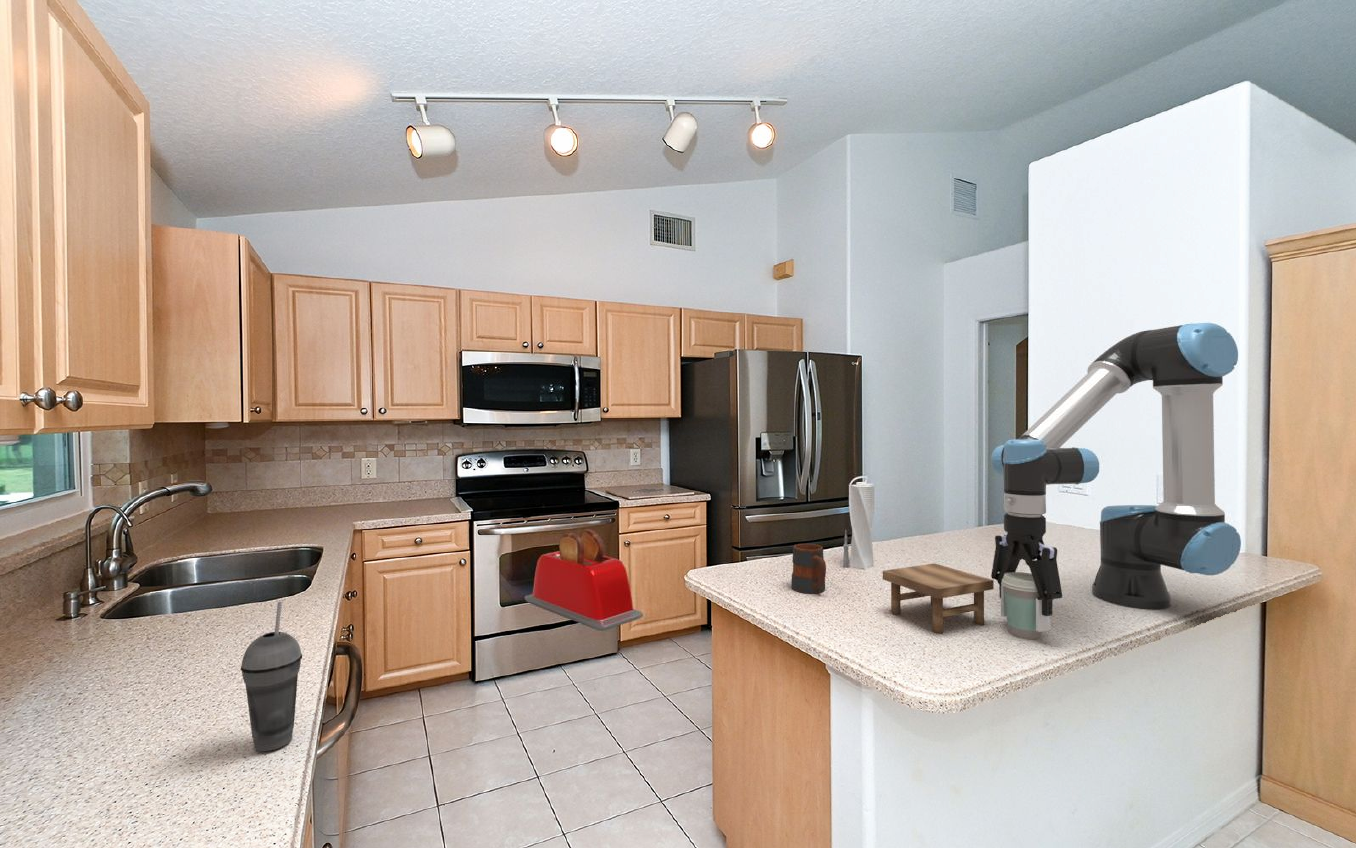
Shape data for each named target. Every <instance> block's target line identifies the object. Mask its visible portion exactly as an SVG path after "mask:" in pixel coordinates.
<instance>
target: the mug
mask: <svg viewBox="0 0 1356 848" xmlns="http://www.w3.org/2000/svg"><path fill="white" fill-rule="evenodd" d="M824 556H825V555H824V548H823V546H821V545H818V544H814V543H798V544H794V545H793V547H792V561H791V562H792V573H791V589H792V590H793V591H795V592H797V593H800V594H801V593H802V594H808V595H814V594H820V593H824V591H826V577H827V576H826V574H827V564H826V561H825V559H824Z"/></svg>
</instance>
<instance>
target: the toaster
mask: <svg viewBox="0 0 1356 848" xmlns="http://www.w3.org/2000/svg"><path fill="white" fill-rule="evenodd" d="M558 548H559V549H558V551H554V552H548V553H545V554H541V555H540V557H539V558H538V560H537V562H536V568H535V573H534V580H533V589H532V593H531V594H528V595H525V596H524V600H525V601H526V603H529V604H530V605H533V606H535V607H538V608H540V609H543V610H546V611H548V612H550V613H553V614H556V615H558V616H561V617H564V618H566V619H568V620H570V621H573V622H575V623H578V624H581V625H583V626H586V627H589V628H590V629H591V628H592V629H595V630H598V631H607V630H610V629H613V628H615V627H618V626H621V625H625V624H628V623H632V622H633V621H637V620H640V619H641V618H643V616H644V614H643V612H642V611H640V610H638V609H635V608H634V604H633V597H632V592H631V588H630V587H631V586H630V581H629V576H628V573H627V569H626V567H625V565H624V563H623V561H622V560H620V559H618V558H613V557H610V556H606V555H604V554H605V549H606V548H605V544H604V541H603V539H602V538H601V537H600V535H599V534H598V533H597V532H596V531H594V530H593V529H588V528H587V529H586V528H585V529H583V530H582V532H581V533H580V535H579V534H576V533H574V532H570V533H565V534H562V535H561V536H560V537H559V542H558Z"/></svg>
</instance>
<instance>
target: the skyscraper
mask: <svg viewBox="0 0 1356 848" xmlns="http://www.w3.org/2000/svg"><path fill="white" fill-rule="evenodd" d="M858 479H865V481H860V482H859V481H858V482H856V484H853V482H854V481H856V480H858ZM868 480H869V477H868V476H866V475H865V476H864V475H861V476H856V477H855V478H853V479H852V480H851V481H850V483H849V484H848V493H849V494H848V508H849V517H850V525H851V529H852V531H851V532H852V534H851V543H850V557H849V544H848V535H847V530H846V529H845V530H844V531H845V532H844V533H845V535H844V544H843V545H842V547H843V559H842V564H843V568H845V569H847V568H849V567H851V568H855V569H856V568H857V569H860V570H864V571H867V570H868V569H869V568H872V567H874V566H875V565H874V549H873V548H874V547H873V537H872V525H873V521H874V511H875V484H873V483H867V482H868ZM849 563H850V565H849Z"/></svg>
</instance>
